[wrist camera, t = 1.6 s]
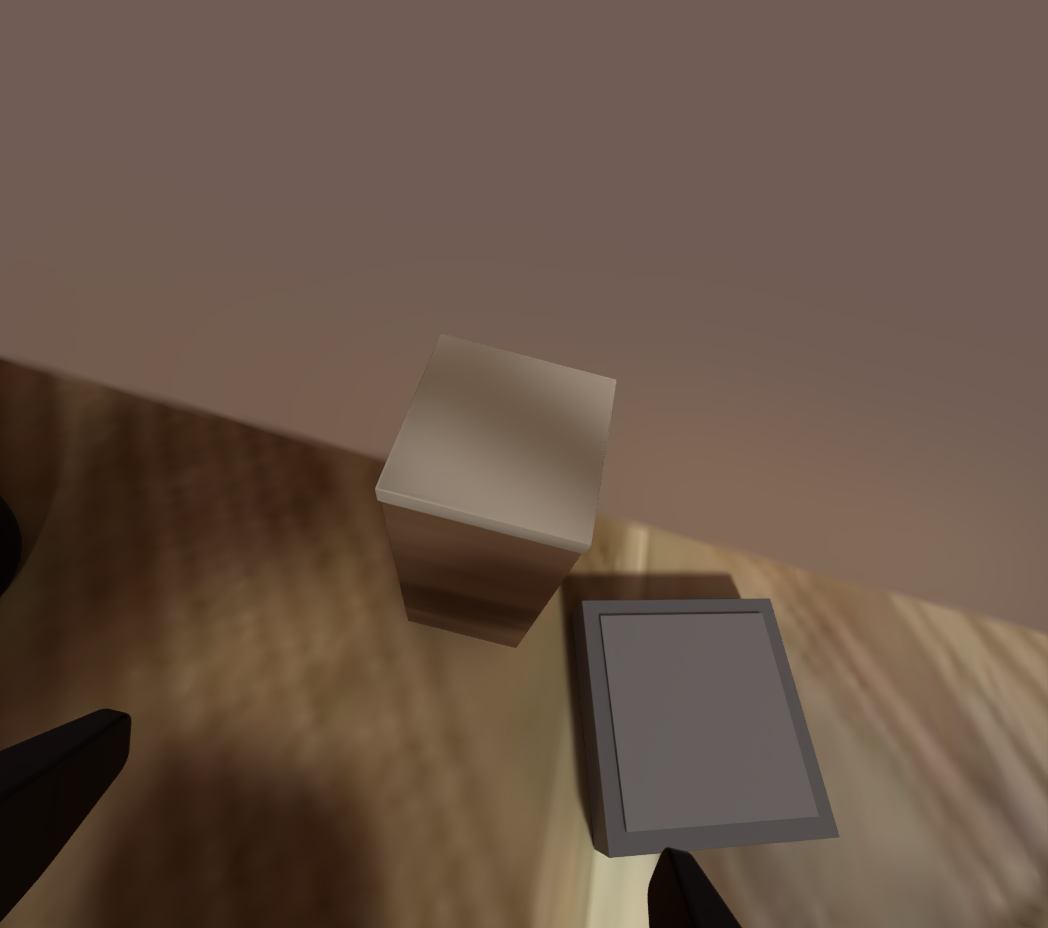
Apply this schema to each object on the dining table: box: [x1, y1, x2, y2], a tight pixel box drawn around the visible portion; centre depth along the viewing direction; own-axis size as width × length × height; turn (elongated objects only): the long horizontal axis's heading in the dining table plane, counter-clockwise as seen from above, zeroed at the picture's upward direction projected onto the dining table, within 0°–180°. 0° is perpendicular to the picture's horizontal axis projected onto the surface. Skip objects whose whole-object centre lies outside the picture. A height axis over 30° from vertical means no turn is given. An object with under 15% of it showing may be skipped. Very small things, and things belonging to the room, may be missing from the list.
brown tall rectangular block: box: [375, 334, 616, 648], centre depth 18 cm, size 5×5×13 cm
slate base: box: [572, 599, 839, 858], centre depth 21 cm, size 9×9×2 cm
